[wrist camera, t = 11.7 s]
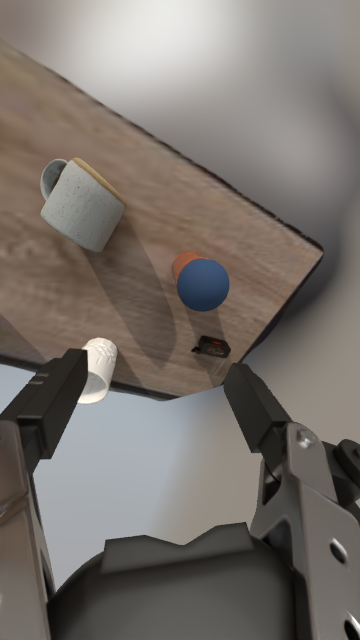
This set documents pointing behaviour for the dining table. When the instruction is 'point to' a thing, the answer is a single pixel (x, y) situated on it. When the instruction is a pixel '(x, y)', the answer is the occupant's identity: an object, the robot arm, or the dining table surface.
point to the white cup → (98, 369)
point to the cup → (184, 262)
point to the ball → (203, 285)
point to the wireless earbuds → (212, 347)
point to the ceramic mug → (80, 203)
